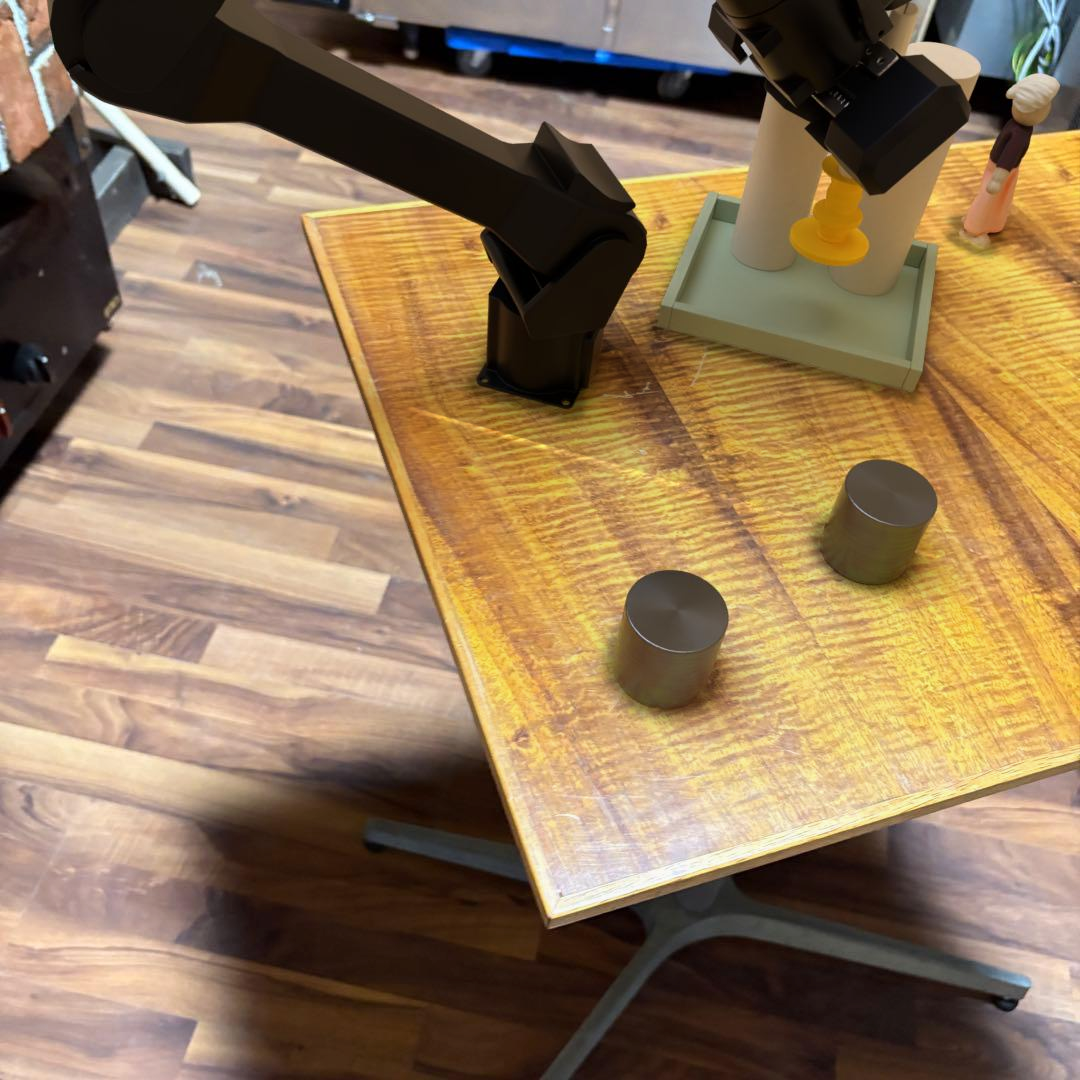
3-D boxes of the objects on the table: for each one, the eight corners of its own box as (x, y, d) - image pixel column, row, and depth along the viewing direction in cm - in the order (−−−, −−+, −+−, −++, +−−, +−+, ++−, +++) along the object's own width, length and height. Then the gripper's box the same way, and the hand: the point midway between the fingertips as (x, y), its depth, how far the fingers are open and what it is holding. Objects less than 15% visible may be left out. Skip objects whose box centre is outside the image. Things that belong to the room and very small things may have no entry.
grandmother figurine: (1003, 262, 79) (1080, 103, 70) (953, 254, 80) (1023, 94, 70) (994, 210, 84) (1065, 55, 75) (947, 202, 85) (1011, 47, 75)
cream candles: (723, 261, 76) (776, 42, 64) (736, 226, 79) (789, 11, 67) (892, 303, 74) (979, 85, 62) (898, 265, 77) (982, 51, 65)
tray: (655, 331, 71) (660, 304, 69) (703, 216, 81) (709, 190, 79) (910, 397, 68) (922, 371, 66) (927, 270, 78) (939, 244, 76)
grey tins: (593, 654, 53) (604, 596, 49) (860, 506, 61) (888, 446, 57) (653, 727, 50) (670, 671, 47) (924, 562, 59) (957, 503, 55)
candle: (852, 276, 66) (943, 24, 54) (776, 248, 67) (849, -3, 55) (877, 240, 69) (968, -5, 57) (804, 214, 70) (879, -31, 58)
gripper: (1022, -95, 43) (1098, 128, 55) (806, -222, 55) (907, -14, 66) (809, 102, 47) (922, 273, 59) (648, -55, 58) (769, 115, 70)
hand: (880, 151), depth 63 cm, fingers closed on candle
